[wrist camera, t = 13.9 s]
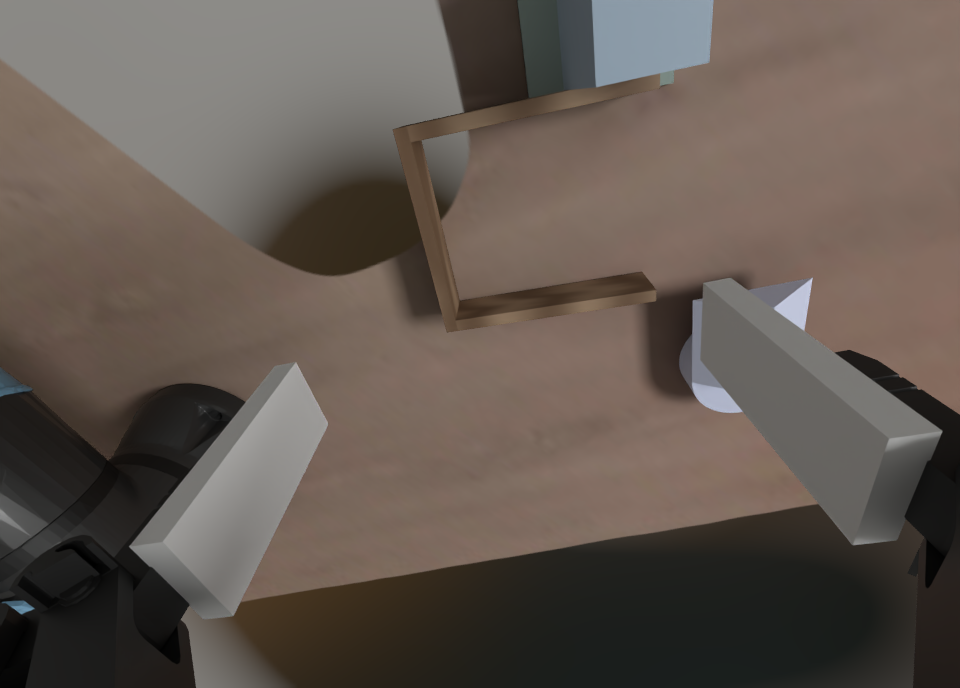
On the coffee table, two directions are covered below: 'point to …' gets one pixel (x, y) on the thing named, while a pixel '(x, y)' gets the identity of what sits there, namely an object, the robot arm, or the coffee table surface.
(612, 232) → the coffee table surface
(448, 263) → the shelf bay
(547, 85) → the felt pad
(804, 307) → the wedge on round base
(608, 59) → the block
